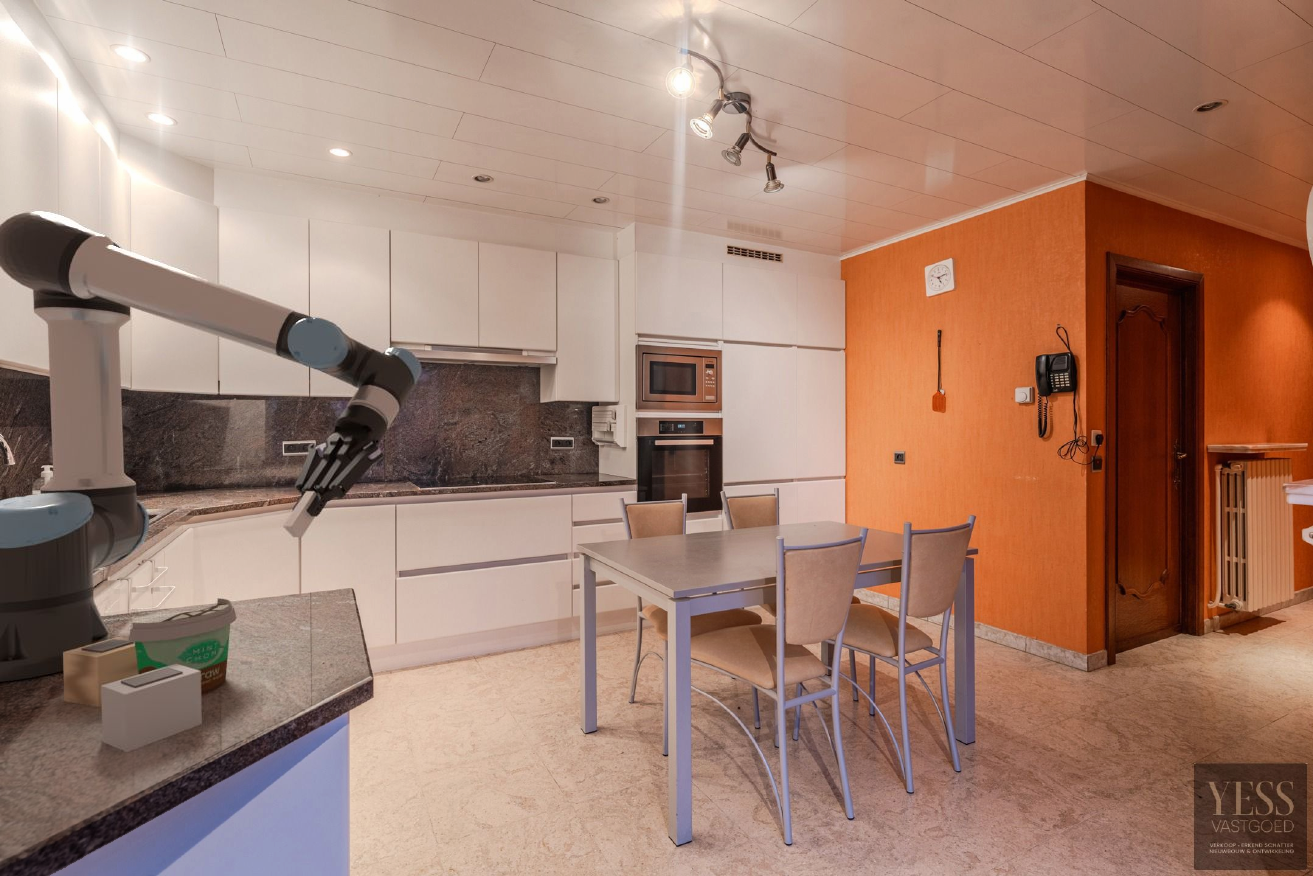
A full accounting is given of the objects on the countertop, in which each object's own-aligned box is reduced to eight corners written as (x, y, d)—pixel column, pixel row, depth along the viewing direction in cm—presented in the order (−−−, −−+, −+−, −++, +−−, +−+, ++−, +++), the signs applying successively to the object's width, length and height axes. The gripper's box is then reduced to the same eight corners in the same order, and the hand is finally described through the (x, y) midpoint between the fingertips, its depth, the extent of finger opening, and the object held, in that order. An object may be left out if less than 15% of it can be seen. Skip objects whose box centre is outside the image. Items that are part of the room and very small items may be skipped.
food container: (171, 714, 74) (169, 627, 74) (129, 709, 75) (127, 624, 75) (260, 674, 86) (259, 599, 86) (223, 670, 87) (221, 597, 87)
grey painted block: (102, 742, 67) (101, 683, 67) (177, 715, 74) (176, 661, 74) (126, 753, 65) (125, 692, 65) (201, 724, 71) (200, 669, 71)
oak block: (64, 701, 78) (63, 650, 78) (118, 682, 84) (117, 635, 84) (98, 707, 76) (97, 655, 76) (151, 688, 82) (150, 639, 82)
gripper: (410, 433, 111) (343, 548, 95) (345, 434, 114) (270, 545, 98) (390, 401, 106) (316, 517, 90) (322, 403, 109) (239, 515, 93)
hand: (292, 531), depth 94 cm, fingers closed
